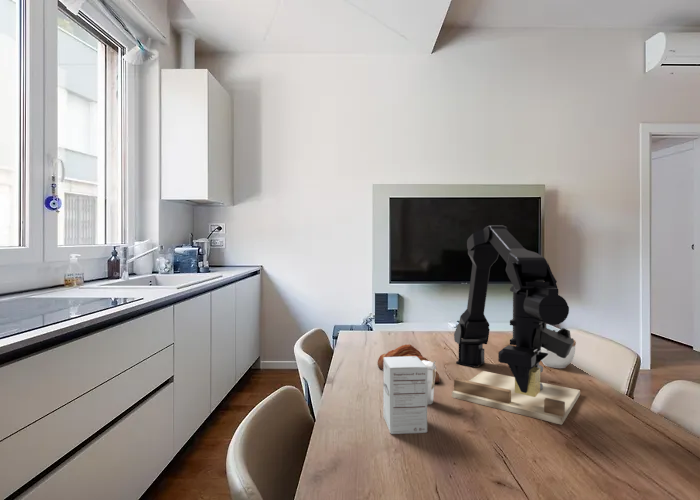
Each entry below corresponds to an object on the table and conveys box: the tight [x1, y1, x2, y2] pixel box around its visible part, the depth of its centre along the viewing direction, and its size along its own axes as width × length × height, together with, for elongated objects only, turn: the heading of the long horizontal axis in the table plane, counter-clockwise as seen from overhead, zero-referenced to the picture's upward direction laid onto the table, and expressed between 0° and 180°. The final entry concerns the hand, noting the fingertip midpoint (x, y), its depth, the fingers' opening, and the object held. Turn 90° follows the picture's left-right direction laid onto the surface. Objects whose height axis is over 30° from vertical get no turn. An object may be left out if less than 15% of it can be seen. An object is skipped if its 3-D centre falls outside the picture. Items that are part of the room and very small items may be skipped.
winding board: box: [451, 370, 581, 426], centre depth 93 cm, size 23×20×4 cm
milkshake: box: [422, 360, 437, 405], centre depth 90 cm, size 4×5×10 cm
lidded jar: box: [540, 339, 577, 369], centre depth 118 cm, size 11×11×9 cm
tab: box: [515, 367, 541, 397], centre depth 84 cm, size 4×4×5 cm
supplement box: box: [382, 356, 428, 435], centre depth 78 cm, size 7×7×13 cm
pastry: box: [377, 344, 440, 384], centre depth 110 cm, size 17×15×8 cm
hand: (526, 389), depth 84 cm, fingers closed on tab, 4 cm apart
